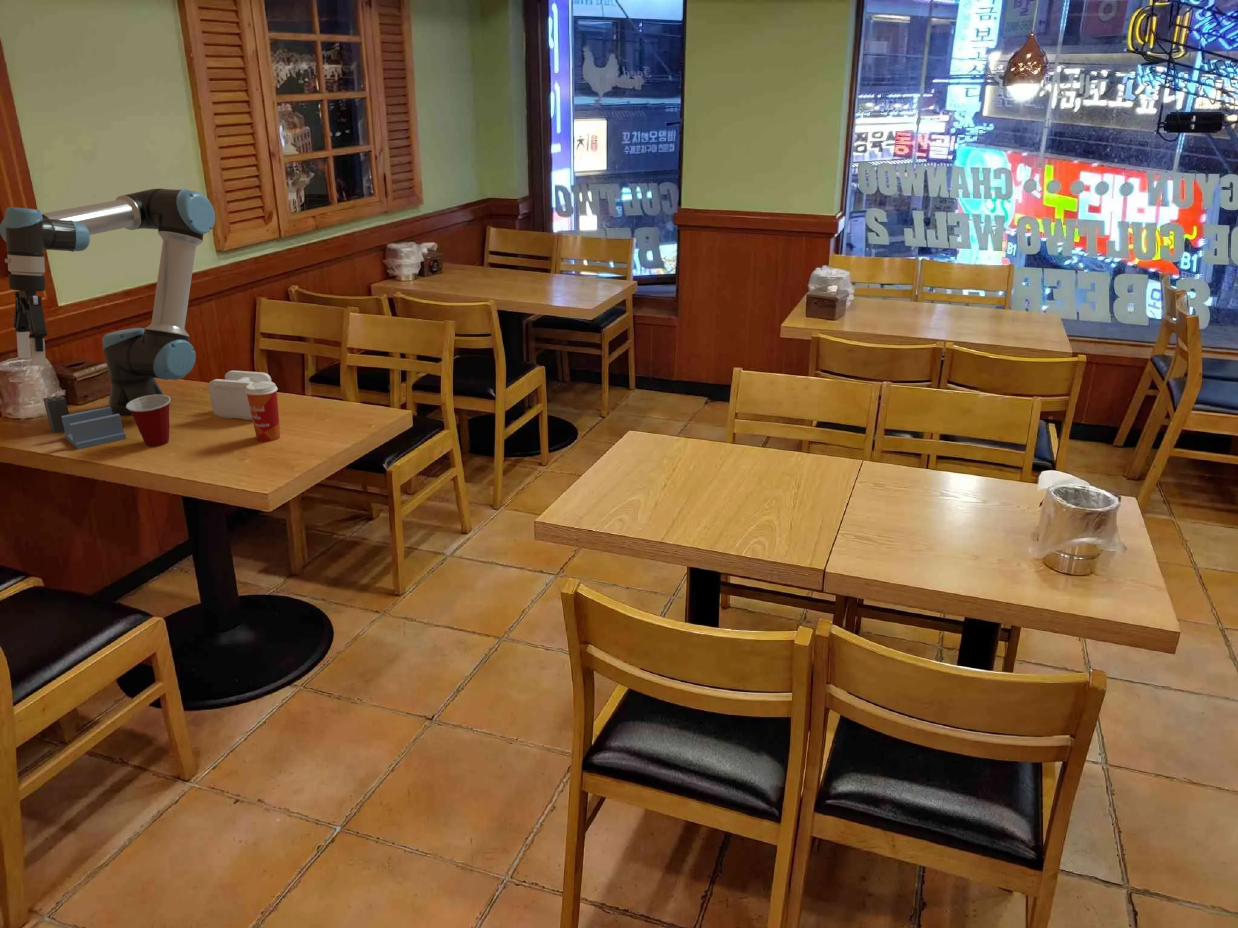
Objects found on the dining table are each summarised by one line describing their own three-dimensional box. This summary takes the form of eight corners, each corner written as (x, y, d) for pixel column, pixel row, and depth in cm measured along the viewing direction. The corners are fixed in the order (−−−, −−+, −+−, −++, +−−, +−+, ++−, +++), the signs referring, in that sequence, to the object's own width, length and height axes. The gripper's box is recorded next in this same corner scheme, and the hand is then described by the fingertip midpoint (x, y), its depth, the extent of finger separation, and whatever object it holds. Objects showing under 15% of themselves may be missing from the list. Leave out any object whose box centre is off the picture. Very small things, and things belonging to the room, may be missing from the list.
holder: (112, 427, 258) (108, 405, 255) (126, 438, 250) (121, 416, 247) (65, 437, 250) (59, 415, 248) (77, 449, 242) (72, 426, 240)
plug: (68, 425, 259) (60, 390, 256) (72, 429, 256) (64, 394, 252) (50, 428, 257) (41, 394, 253) (54, 433, 254) (46, 398, 250)
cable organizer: (278, 410, 272) (273, 372, 268) (259, 422, 262) (253, 383, 258) (233, 407, 275) (226, 369, 270) (211, 418, 265) (205, 380, 261)
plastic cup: (125, 448, 243) (115, 405, 239) (153, 434, 253) (145, 393, 248) (160, 452, 241) (151, 409, 236) (187, 438, 250) (179, 396, 246)
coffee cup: (247, 437, 251) (238, 385, 245) (275, 430, 256) (267, 378, 251) (262, 445, 246) (253, 392, 240) (290, 437, 251) (283, 385, 245)
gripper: (-4, 270, 228) (1, 355, 233) (21, 276, 211) (27, 368, 216) (31, 271, 234) (35, 355, 238) (58, 277, 217) (63, 367, 221)
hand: (31, 361), depth 227 cm, fingers open, 13 cm apart
